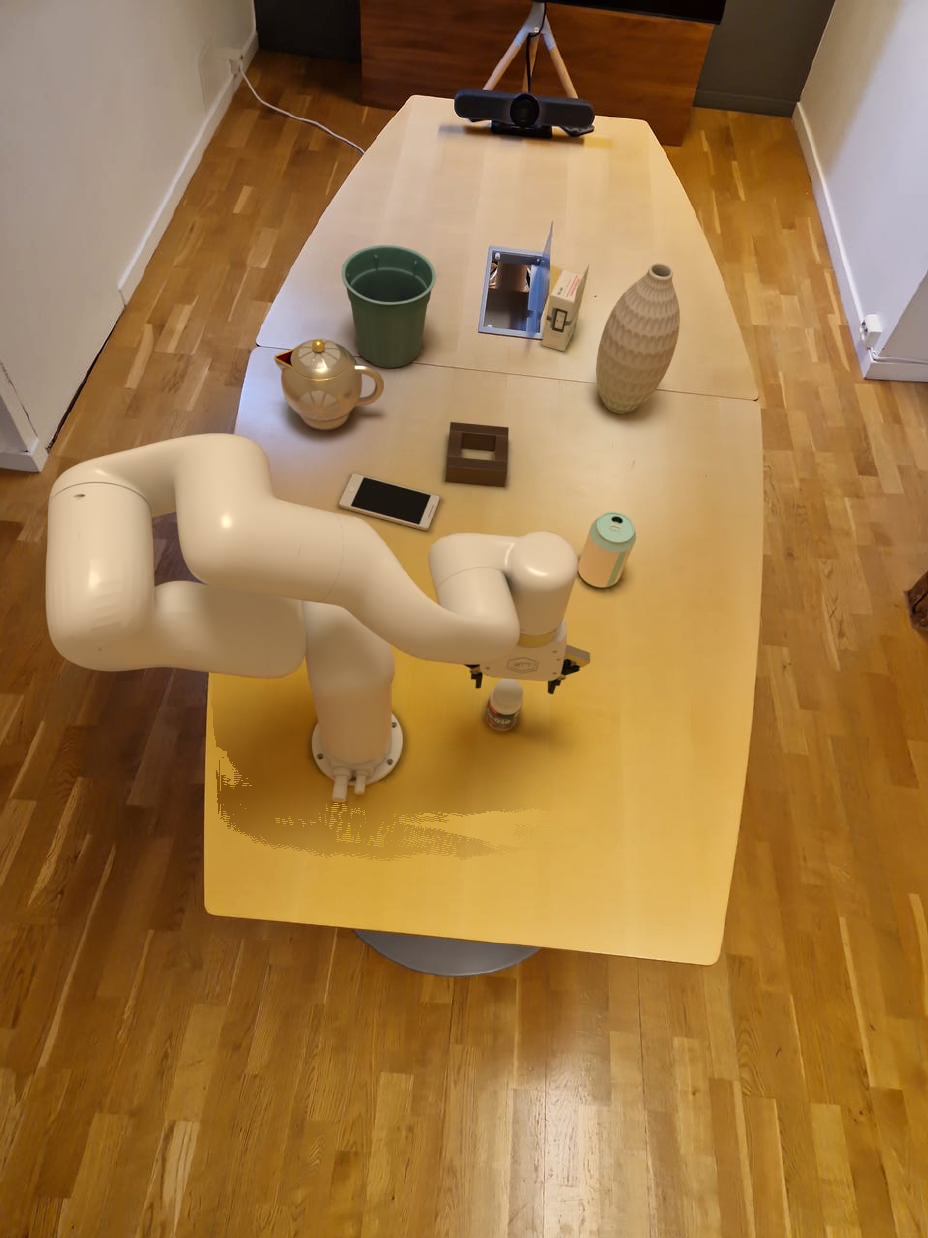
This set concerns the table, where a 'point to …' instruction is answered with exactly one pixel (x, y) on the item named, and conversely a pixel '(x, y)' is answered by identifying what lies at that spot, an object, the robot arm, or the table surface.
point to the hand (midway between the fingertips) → (514, 681)
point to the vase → (638, 341)
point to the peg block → (477, 468)
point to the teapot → (324, 382)
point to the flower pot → (388, 302)
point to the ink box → (564, 309)
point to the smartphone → (389, 502)
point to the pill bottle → (504, 704)
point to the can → (607, 549)
